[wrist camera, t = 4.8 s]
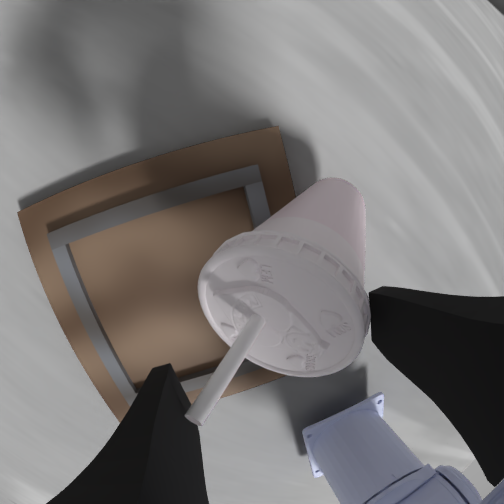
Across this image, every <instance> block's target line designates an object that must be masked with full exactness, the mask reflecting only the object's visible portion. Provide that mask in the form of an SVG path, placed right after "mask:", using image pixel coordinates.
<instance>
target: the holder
mask: <svg viewBox="0 0 504 504" xmlns="http://www.w3.org/2000/svg"><path fill="white" fill-rule="evenodd" d="M295 198H296V196H295V191H294V187H293V183H292V178H291V174H290V170H289V166H288V162H287V158H286V154H285V150H284V146H283V142H282V138H281V134H280V130H279V126H275V127H270V128H265V129H260V130H255V131H251V132H246V133H242V134H237V135H233V136H229V137H225V138H220V139H216V140H213V141H209V142H205V143H201V144H197V145H194V146H190V147H186V148H183V149H179V150H176V151H173V152H169V153H166V154H163V155H159V156H156V157H153V158H150V159H147V160H144V161H141V162H138V163H135V164H132V165H129V166H126V167H123V168H121V169H118V170H115V171H112V172H109V173H107V174H104V175H101V176H99V177H96V178H94V179H91V180H89V181H86V182H84V183H81V184H79V185H76V186H74V187H71V188H69V189H67V190H64V191H62V192H60V193H57V194H55V195H53V196H51V197H48V198H46V199H44V200H42V201H40V202H38V203H35V204H33V205H31V206H29V207H27V208H25V209H23V210H21V211H19V212H17V213H18V217H19V220H20V224H21V227H22V230H23V234H24V237H25V240H26V243H27V246H28V249H29V252H30V255H31V257H32V260H33V263H34V265H35V268H36V271H37V273H38V276H39V278H40V281H41V283H42V286H43V288H44V291H45V293H46V295H47V297H48V300H49V302H50V304H51V306H52V309H53V311H54V313H55V315H56V317H57V319H58V321H59V323H60V325H61V327H62V329H63V331H64V333H65V335H66V337H67V339H68V341H69V343H70V345H71V346H72V348H73V350H74V352H75V354H76V356H77V357H78V359H79V361H80V363H81V364H82V366H83V368H84V369H85V371H86V373H87V374H88V376H89V378H90V379H91V381H92V382H93V384H94V386H95V387H96V389H97V390H98V392H99V393H100V395H101V396H102V398H103V399H104V401H105V402H106V404H107V405H108V407H109V408H110V409H111V411H112V412H113V414H114V415H115V417H116V418H117V419H118V421H119V422H120V423H121V421H122V420H123V418H124V416H125V415H126V413H127V412H128V410H129V408H130V407H131V405H132V403H133V401H134V400H135V398H136V396H137V394H138V393H139V391H140V389H141V387H142V385H143V384H144V382H145V380H146V378H147V376H148V374H149V373H150V371H151V369H152V368H154V367H157V366H161V365H165V364H168V363H171V365H172V367H173V369H174V371H175V373H176V375H177V377H178V379H179V381H180V383H181V385H182V387H183V389H184V391H185V393H186V395H187V397H188V399H189V401H190V403H191V405H192V404H193V403H194V401H195V400H196V398H197V397H198V395H199V394H200V392H201V391H202V389H203V388H204V386H205V385H206V384H207V382H208V381H209V379H210V378H211V376H212V375H213V373H214V372H215V370H216V369H217V367H218V366H219V364H220V363H221V361H222V360H223V358H224V357H225V355H226V354H227V352H228V351H229V349H230V348H231V347H230V346H229V345H228V344H227V343H226V342H224V341H223V340H222V339H221V338H220V337H219V335H218V334H217V333H216V332H215V330H214V329H213V328H212V327H211V325H210V323H209V322H208V320H207V318H206V317H205V315H204V312H203V310H202V307H201V305H200V301H199V296H198V279H199V275H200V273H201V270H202V268H203V267H204V265H205V264H206V263H207V261H208V260H209V259H210V258H211V257H212V256H213V254H214V252H215V251H216V250H217V249H218V248H219V247H220V246H221V245H222V244H223V243H224V242H225V241H226V240H228V239H230V238H232V237H234V236H237V235H239V234H241V233H243V232H250V231H253V230H254V229H255V228H256V227H258V226H259V225H261V224H262V223H263V222H265V221H266V220H267V219H269V218H270V217H271V216H273V215H274V214H275V213H276V212H278V211H279V210H280V209H282V208H283V207H284V206H286V205H287V204H288V203H290V202H291V201H292V200H293V199H295ZM284 376H286V375H285V374H281V373H277V372H274V371H271V370H268V369H266V368H263V367H261V366H259V365H257V364H255V363H253V362H251V361H250V360H248V359H246V358H244V360H243V362H242V363H241V365H240V367H239V368H238V370H237V372H236V373H235V375H234V376H233V378H232V380H231V381H230V383H229V384H228V386H227V388H226V389H225V391H224V392H223V394H222V396H221V397H220V398H223V397H227V396H230V395H233V394H236V393H239V392H242V391H245V390H248V389H251V388H254V387H257V386H259V385H262V384H265V383H268V382H271V381H273V380H276V379H279V378H281V377H284Z"/></svg>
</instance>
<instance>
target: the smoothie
mask: <svg viewBox="0 0 504 504" xmlns="http://www.w3.org/2000/svg"><path fill="white" fill-rule="evenodd" d="M365 242H366V216H365V202H364V199H363V197H362V195H361V193H360V192H359V190H358V189H357V188H356V187H355V186H354V185H352V184H351V183H349V182H348V181H345V180H343V179H339V178H325V179H322V180H319V181H317V182H316V183H315V184H313V185H312V186H311V187H309V188H308V189H307V190H305V191H304V192H303V193H301V194H300V195H299V196H297V197H296V198H295V199H293V200H292V201H291V202H290V203H288V204H287V205H286V206H284V207H283V208H282V209H280V210H279V211H278V212H276V213H275V214H274V215H273V216H271V217H270V218H269V219H267V220H266V221H265V222H263V223H262V224H261V225H259V226H258V227H256V228H255V229H254V230H253V231H250V232H243V233H241V234H239V235H237V236H234V237H232V238H230V239H228V240H226V241H225V242H224V243H223V244H222V245H221V246H220V247H219V248H218V249H217V250H216V251H215V252H214V254H213V256H212V257H211V258H210V259H209V260H208V261H207V263H206V264H205V265H204V267H203V268H202V270H201V273H200V275H199V279H198V296H199V301H200V305H201V307H202V310H203V312H204V315H205V317H206V318H207V320H208V322H209V323H210V325H211V327H212V328H213V329H214V330H215V332H216V333H217V334H218V335H219V337H220V338H221V339H222V340H223V341H224V342H226V343H227V344H228V345H229V346H230V347H231V348H230V349H229V351H228V352H227V354H226V355H225V357H224V358H223V360H222V361H221V363H220V364H219V366H218V367H217V369H216V370H215V372H214V373H213V375H212V376H211V378H210V379H209V381H208V382H207V384H206V385H205V386H204V388H203V389H202V391H201V392H200V394H199V395H198V397H197V398H196V400H195V401H194V403H193V404H192V405H191V407H190V408H189V410H188V411H187V413H186V414H185V417H186V418H187V419H188V420H189V421H191V422H192V423H194V424H196V425H199V426H202V425H203V423H204V422H205V420H206V419H207V417H208V416H209V414H210V413H211V411H212V410H213V408H214V407H215V405H216V403H217V402H218V400H219V399H220V397H221V396H222V394H223V392H224V391H225V389H226V388H227V386H228V384H229V383H230V381H231V380H232V378H233V376H234V375H235V373H236V372H237V370H238V368H239V367H240V365H241V363H242V362H243V360H244V358H246V359H248V360H250V361H251V362H253V363H255V364H257V365H259V366H261V367H263V368H266V369H268V370H271V371H274V372H277V373H281V374H285V375H290V376H297V377H320V376H325V375H329V374H333V373H335V372H338V371H340V370H342V369H344V368H345V367H347V366H348V365H350V364H351V363H352V362H353V361H354V360H355V359H356V358H357V356H358V355H359V353H360V351H361V349H362V346H363V343H364V339H365V337H366V335H367V334H368V329H369V325H370V320H371V312H370V305H369V299H368V296H367V294H366V292H365V290H364V284H365Z"/></svg>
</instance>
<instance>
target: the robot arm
mask: <svg viewBox="0 0 504 504" xmlns="http://www.w3.org/2000/svg"><path fill="white" fill-rule="evenodd" d="M369 303H370V312H371V336H372V342H373V343H374V344H375V345H376V347H377V348H378V349H379V350H380V352H381V353H382V354H383V355H384V356H385V357H386V359H387V360H388V361H389V362H390V363H392V364H393V365H394V366H395V367H396V368H397V369H398V370H399V371H400V372H401V373H403V374H404V375H405V376H406V377H407V378H408V379H409V380H411V381H412V382H413V383H414V384H415V385H416V386H417V387H418V388H420V389H421V390H422V391H423V392H424V393H425V394H426V395H427V396H428V397H429V398H430V399H431V400H432V401H433V402H434V403H435V404H436V405H437V406H438V407H439V408H440V410H441V411H442V412H443V413H444V414H445V416H446V417H447V418H448V419H449V420H450V422H451V423H452V424H453V426H454V427H455V428H456V430H457V431H458V432H459V434H460V435H461V436H462V438H463V439H464V441H465V442H466V444H467V445H468V447H469V448H470V450H471V451H472V453H473V454H474V456H475V458H476V459H477V461H478V463H479V465H480V467H481V468H482V470H483V472H484V474H485V476H486V478H487V480H488V481H489V482H490V483H491V484H492V485H493V486H494V487H495V486H497V484H499V483H500V482H501V481H502V482H501V483H500V484H499V485H498V486H497V487H496V488H495V489H494V490H493V491H492V492H491V493H489V495H488V496H486V497H485V498H484V499H483V500H482V499H481V496H480V495H479V493H478V491H477V490H476V488H475V487H474V486H473V485H472V483H471V482H470V481H469V480H468V479H467V478H466V477H465V476H464V475H463V474H462V473H461V472H459V471H458V470H457V469H455V468H454V467H452V466H443V465H439V466H438V467H437V468H436V469H435V470H434V469H433V468H432V467H431V466H430V465H429V464H427V465H426V466H424V464H423V463H422V462H421V461H420V460H419V459H418V458H417V457H416V456H415V454H414V453H413V452H412V451H411V450H410V449H409V448H408V447H407V446H406V444H405V443H404V442H403V441H402V440H401V439H400V438H399V437H398V435H397V434H396V433H395V432H394V431H393V430H392V429H391V428H390V427H389V425H388V424H387V423H386V422H385V421H384V420H383V408H384V394H383V393H382V392H378V393H376V394H375V395H373V396H371V397H369V398H367V399H365V400H363V401H361V402H359V403H357V404H356V405H354V406H352V407H350V408H347V409H345V410H343V411H341V412H339V413H337V414H335V415H333V416H331V417H328V418H326V419H324V420H322V421H320V422H317V423H315V424H313V425H310V426H308V427H306V428H304V429H303V431H302V434H303V438H304V442H305V446H306V450H307V454H308V458H309V462H310V466H311V470H312V474H313V476H314V477H315V478H316V477H320V476H322V475H324V476H325V478H326V480H327V481H328V483H329V485H330V487H331V488H332V490H333V492H334V493H335V495H336V497H337V499H338V500H339V502H340V504H504V480H503V479H504V296H502V297H470V296H458V295H448V294H440V293H433V292H426V291H419V290H412V289H406V288H398V287H387V286H382V287H380V288H378V289H375V290H373V291H371V292H369ZM190 407H191V403H190V401H189V399H188V397H187V395H186V393H185V391H184V389H183V387H182V385H181V383H180V381H179V379H178V377H177V375H176V373H175V371H174V369H173V367H172V365H171V363H168V364H165V365H161V366H157V367H154V368H152V369H151V371H150V373H149V374H148V376H147V378H146V380H145V382H144V384H143V385H142V387H141V389H140V391H139V393H138V394H137V396H136V398H135V400H134V401H133V403H132V405H131V407H130V408H129V410H128V412H127V413H126V415H125V416H124V418H123V420H122V421H121V423H120V424H119V426H118V427H117V429H116V430H115V432H114V434H113V435H112V436H111V438H110V439H109V441H108V442H107V443H106V445H105V446H104V447H103V449H102V450H101V451H100V452H99V453H98V455H97V456H96V457H95V458H94V460H93V461H92V462H91V463H90V464H89V465H88V466H87V467H86V468H85V469H84V470H83V471H82V472H81V473H80V474H79V475H78V476H77V477H76V478H75V479H74V480H73V482H72V483H71V484H69V485H68V486H67V487H66V488H65V489H64V490H63V491H61V492H60V493H59V494H58V495H57V496H55V497H54V498H53V499H52V500H50V501H49V502H48V503H46V504H209V501H208V497H207V491H206V485H205V477H204V469H203V461H202V452H201V444H200V435H199V430H198V426H197V425H196V424H194V423H192V422H191V421H189V420H188V419H187V418H186V417H185V414H186V413H187V411H188V410H189V408H190Z"/></svg>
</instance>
